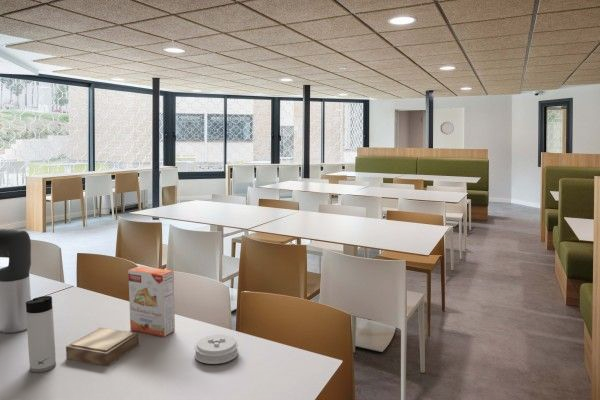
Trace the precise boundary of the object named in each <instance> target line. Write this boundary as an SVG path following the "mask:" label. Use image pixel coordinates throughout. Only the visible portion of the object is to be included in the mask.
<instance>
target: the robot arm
mask: <svg viewBox="0 0 600 400" xmlns="http://www.w3.org/2000/svg"><path fill="white" fill-rule="evenodd" d="M0 258H4V259H5V258H8V265H7V266H4V267H1V268H0V333H5V334H12V333H19V332H24V331H25V330H27V318H26V314H27V313H26V302H27V301H30V300H32V297H31V283H30V282H31V281H30V269H31V266H32V242H31V236H30V234H29V233H28V231H26V230H24V229H14V228H13V229H10V228H0Z"/></svg>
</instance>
